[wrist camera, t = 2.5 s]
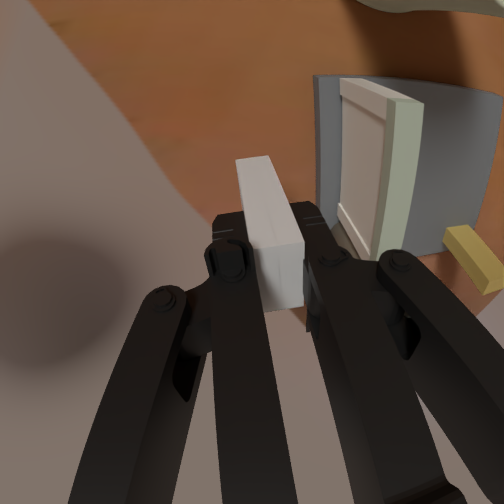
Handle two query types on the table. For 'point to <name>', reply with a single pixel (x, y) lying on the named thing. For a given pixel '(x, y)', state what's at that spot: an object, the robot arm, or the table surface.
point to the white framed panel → (377, 164)
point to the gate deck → (425, 169)
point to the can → (439, 6)
